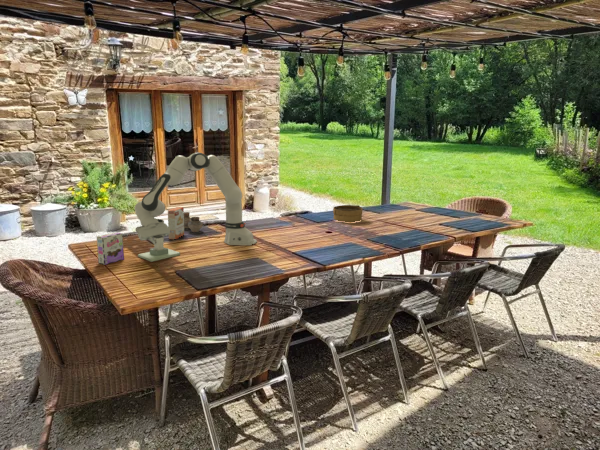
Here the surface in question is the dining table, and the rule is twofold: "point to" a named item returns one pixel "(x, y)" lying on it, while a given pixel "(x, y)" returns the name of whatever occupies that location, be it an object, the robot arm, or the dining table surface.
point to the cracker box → (176, 222)
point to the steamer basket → (347, 213)
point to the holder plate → (158, 254)
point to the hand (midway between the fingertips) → (159, 242)
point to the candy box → (110, 248)
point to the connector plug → (158, 242)
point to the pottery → (192, 222)
